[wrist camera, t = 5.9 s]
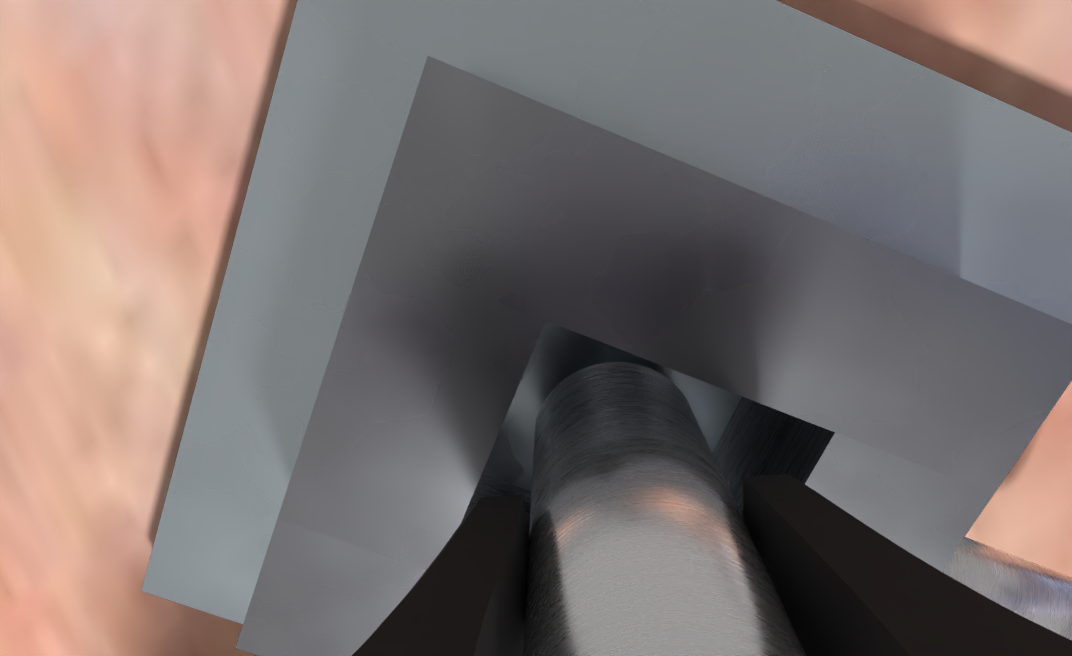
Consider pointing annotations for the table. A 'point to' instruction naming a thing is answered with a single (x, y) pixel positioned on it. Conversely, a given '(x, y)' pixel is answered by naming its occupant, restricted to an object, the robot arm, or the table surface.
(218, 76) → the table surface
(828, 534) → the robot arm
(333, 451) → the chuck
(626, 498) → the pin
